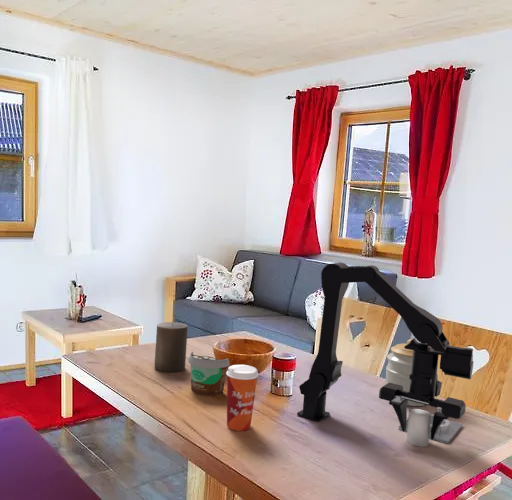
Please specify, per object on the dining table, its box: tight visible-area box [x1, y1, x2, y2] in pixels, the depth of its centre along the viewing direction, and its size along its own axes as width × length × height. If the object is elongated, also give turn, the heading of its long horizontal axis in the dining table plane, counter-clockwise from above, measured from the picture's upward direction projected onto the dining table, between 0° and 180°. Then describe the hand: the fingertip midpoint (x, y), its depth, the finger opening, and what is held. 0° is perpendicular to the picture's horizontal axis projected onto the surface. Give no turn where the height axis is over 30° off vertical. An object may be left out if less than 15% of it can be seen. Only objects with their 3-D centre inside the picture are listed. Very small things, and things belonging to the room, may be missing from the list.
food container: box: [187, 351, 231, 396], centre depth 149 cm, size 12×6×10 cm, turn 68°
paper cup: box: [226, 364, 259, 432], centre depth 128 cm, size 8×8×14 cm
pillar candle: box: [154, 320, 189, 373], centre depth 170 cm, size 10×10×15 cm
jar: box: [384, 338, 425, 407], centre depth 156 cm, size 13×13×18 cm
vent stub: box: [405, 408, 432, 448], centre depth 126 cm, size 6×5×7 cm
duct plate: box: [398, 413, 464, 445], centre depth 135 cm, size 14×12×2 cm
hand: (417, 435), depth 126 cm, fingers open, 6 cm apart
